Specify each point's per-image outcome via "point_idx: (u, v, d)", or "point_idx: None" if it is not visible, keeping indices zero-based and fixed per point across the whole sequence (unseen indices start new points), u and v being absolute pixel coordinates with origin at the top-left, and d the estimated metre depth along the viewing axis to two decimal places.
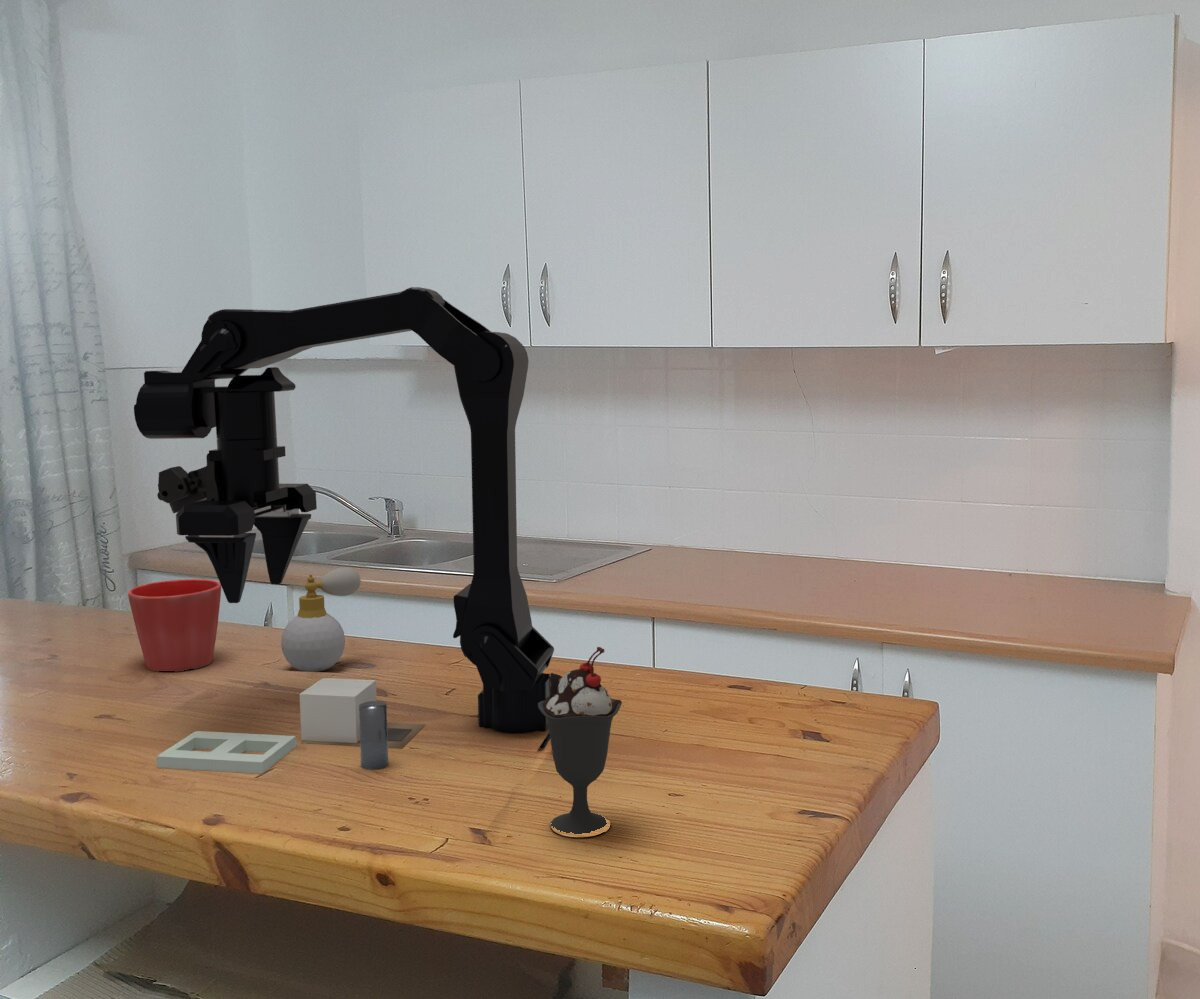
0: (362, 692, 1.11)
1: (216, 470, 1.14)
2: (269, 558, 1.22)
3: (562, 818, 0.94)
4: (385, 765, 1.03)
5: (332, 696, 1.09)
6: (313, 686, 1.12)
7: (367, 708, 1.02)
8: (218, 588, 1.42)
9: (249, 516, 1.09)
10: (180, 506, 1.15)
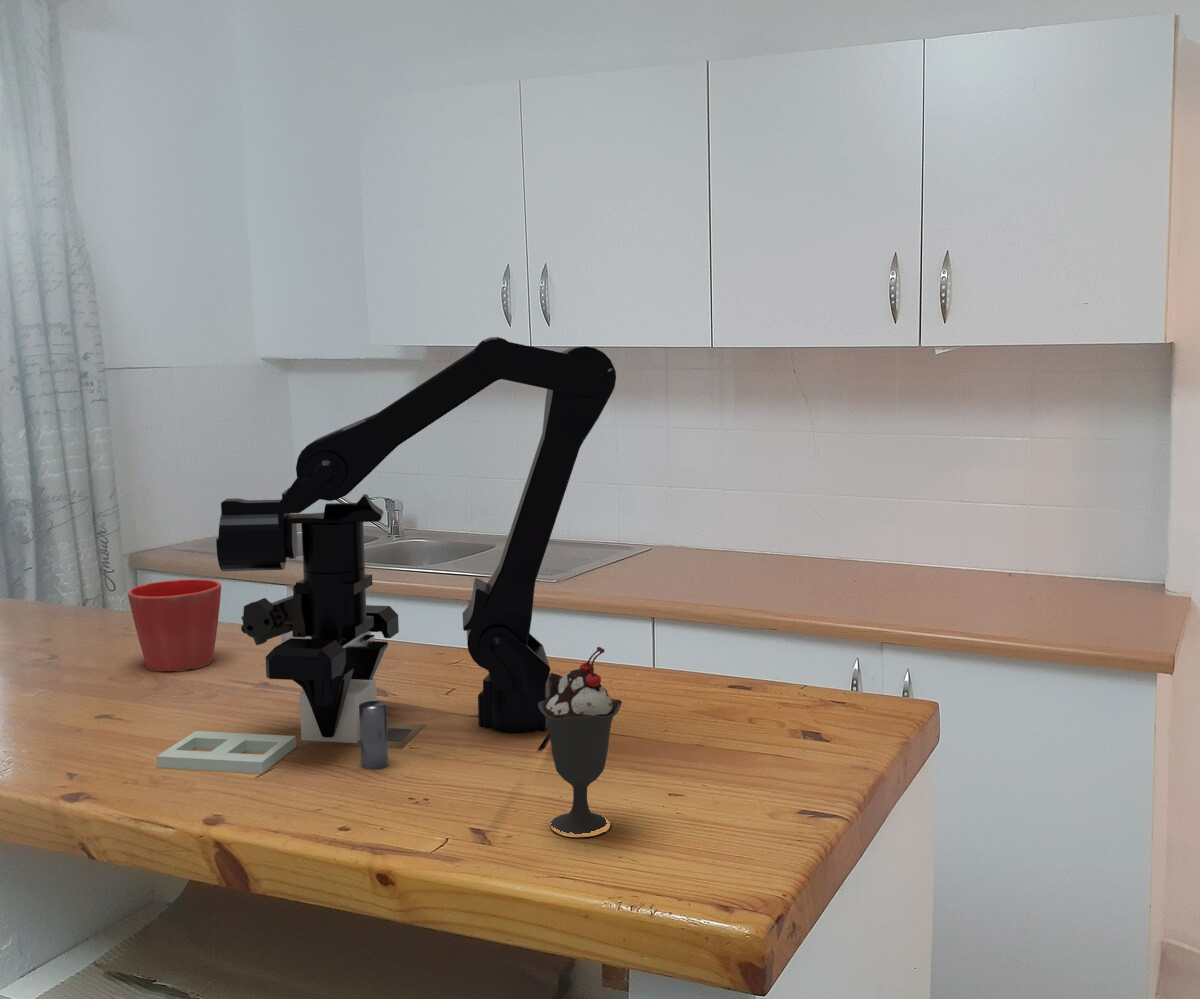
0: (362, 692, 1.11)
1: (303, 603, 1.09)
2: None
3: (562, 818, 0.94)
4: (385, 765, 1.03)
5: None
6: None
7: (367, 708, 1.02)
8: (218, 588, 1.42)
9: (341, 657, 1.05)
10: (264, 639, 1.10)
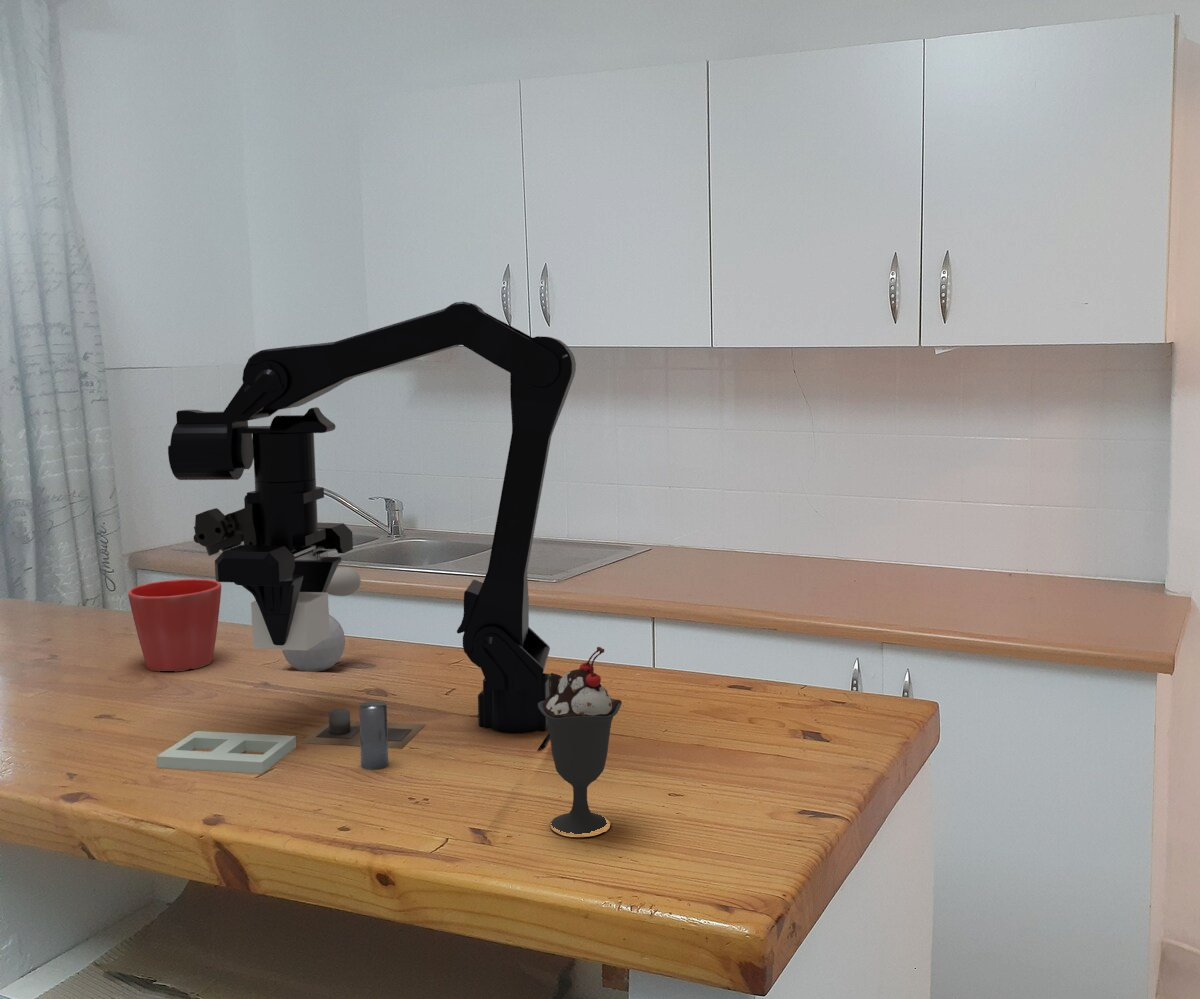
0: (313, 601, 1.13)
1: (254, 513, 1.11)
2: None
3: (562, 818, 0.94)
4: (385, 765, 1.03)
5: None
6: None
7: (367, 708, 1.02)
8: (218, 588, 1.42)
9: (289, 562, 1.06)
10: (216, 549, 1.12)
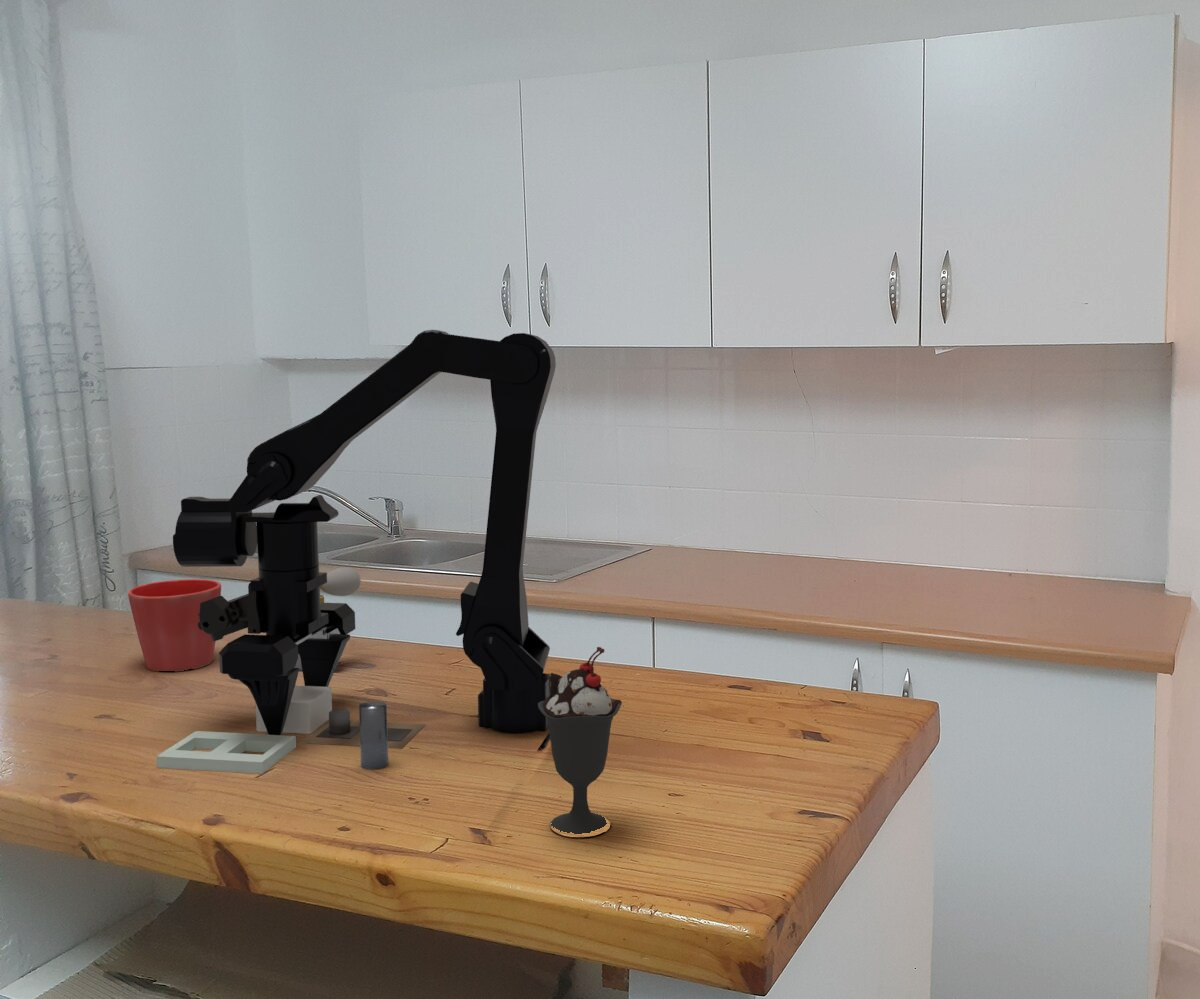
0: (316, 699, 1.14)
1: (258, 600, 1.12)
2: (308, 681, 1.20)
3: (562, 818, 0.94)
4: (385, 765, 1.03)
5: None
6: None
7: (367, 708, 1.02)
8: (218, 588, 1.42)
9: (293, 653, 1.08)
10: (220, 635, 1.13)
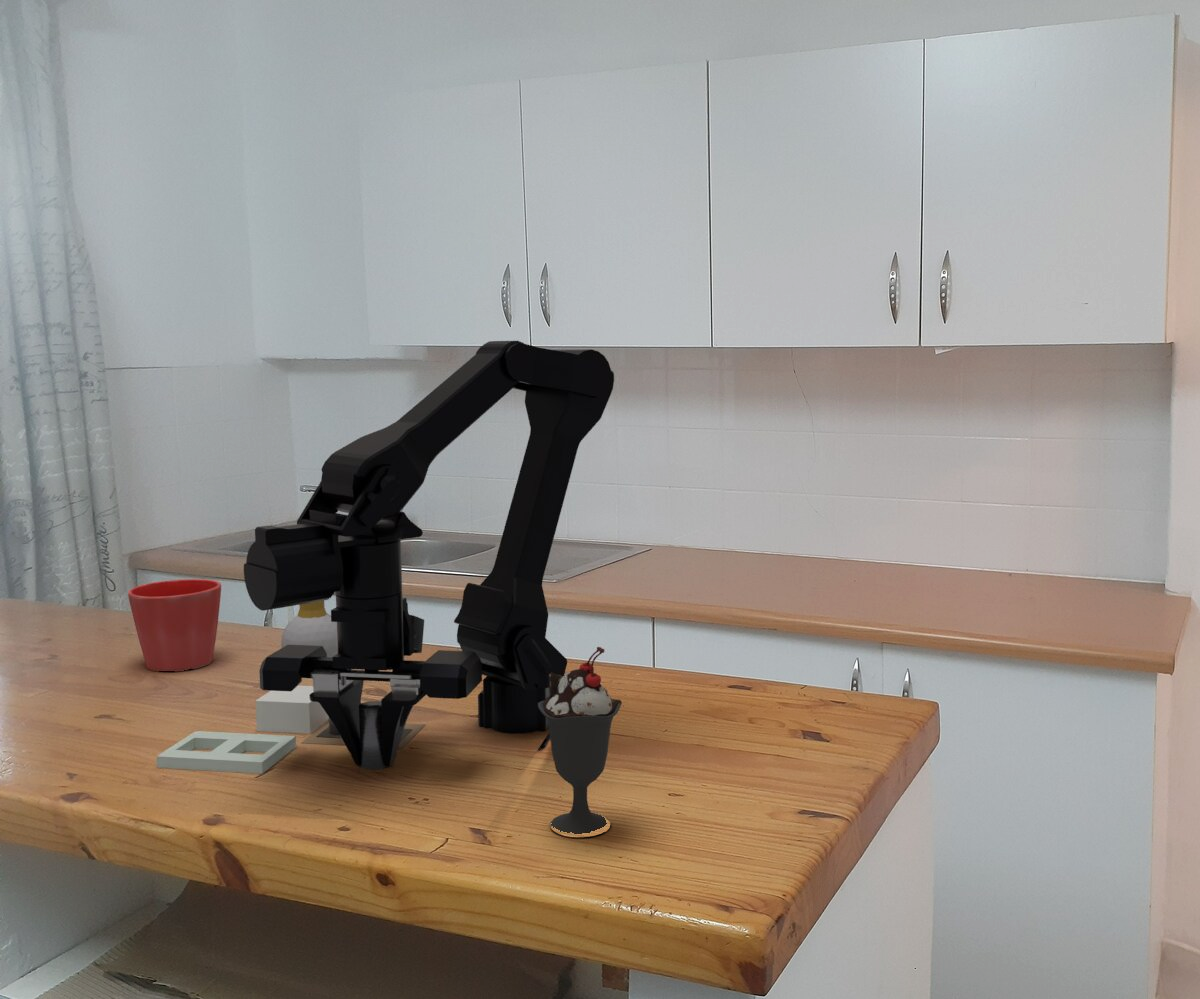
0: None
1: None
2: None
3: (562, 818, 0.94)
4: None
5: (287, 703, 1.12)
6: (269, 693, 1.15)
7: (367, 708, 1.02)
8: (218, 588, 1.42)
9: (287, 675, 1.01)
10: None
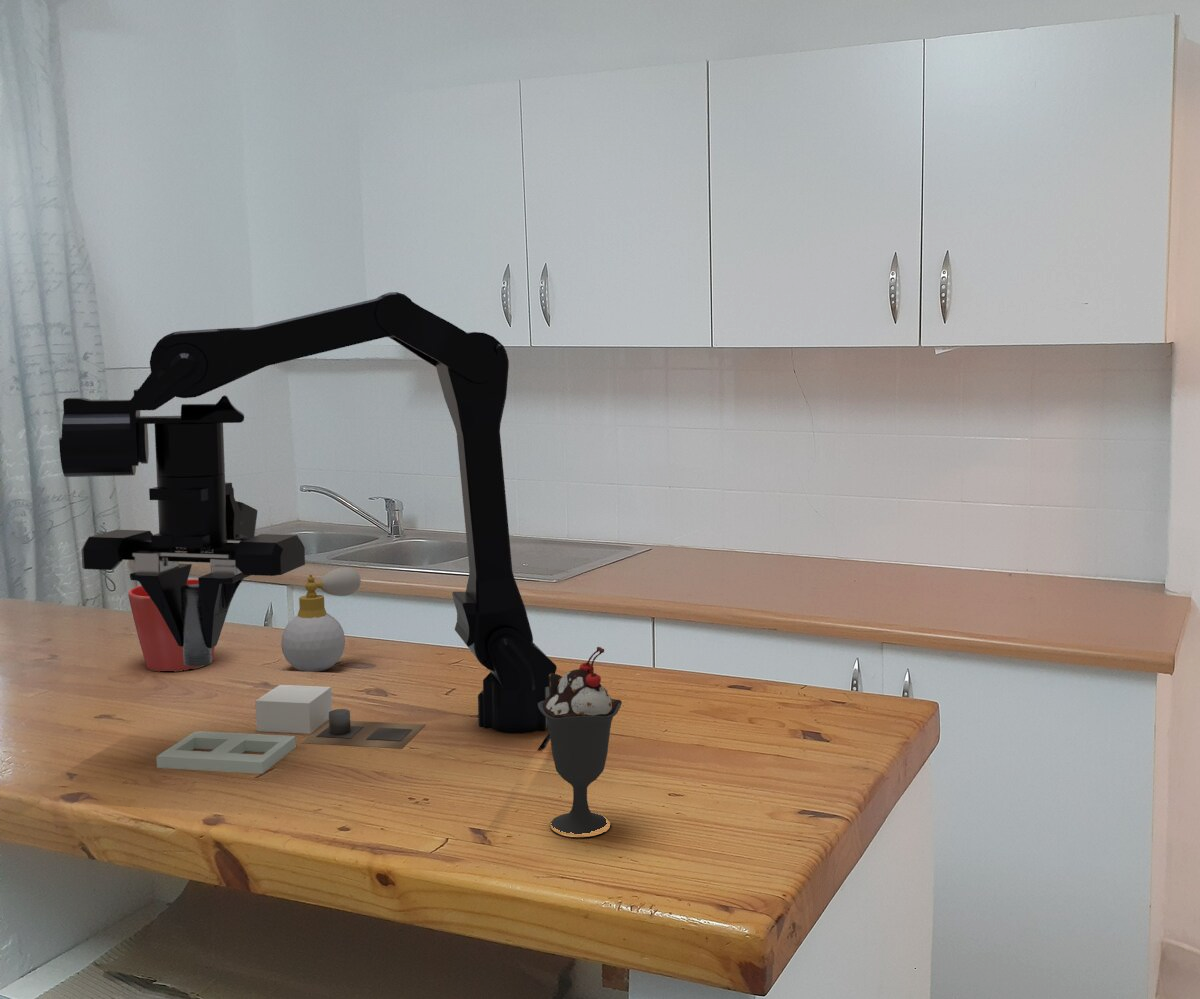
0: (316, 699, 1.14)
1: None
2: None
3: (562, 818, 0.94)
4: None
5: (287, 703, 1.12)
6: (269, 693, 1.15)
7: (188, 588, 1.03)
8: None
9: (107, 554, 1.02)
10: None
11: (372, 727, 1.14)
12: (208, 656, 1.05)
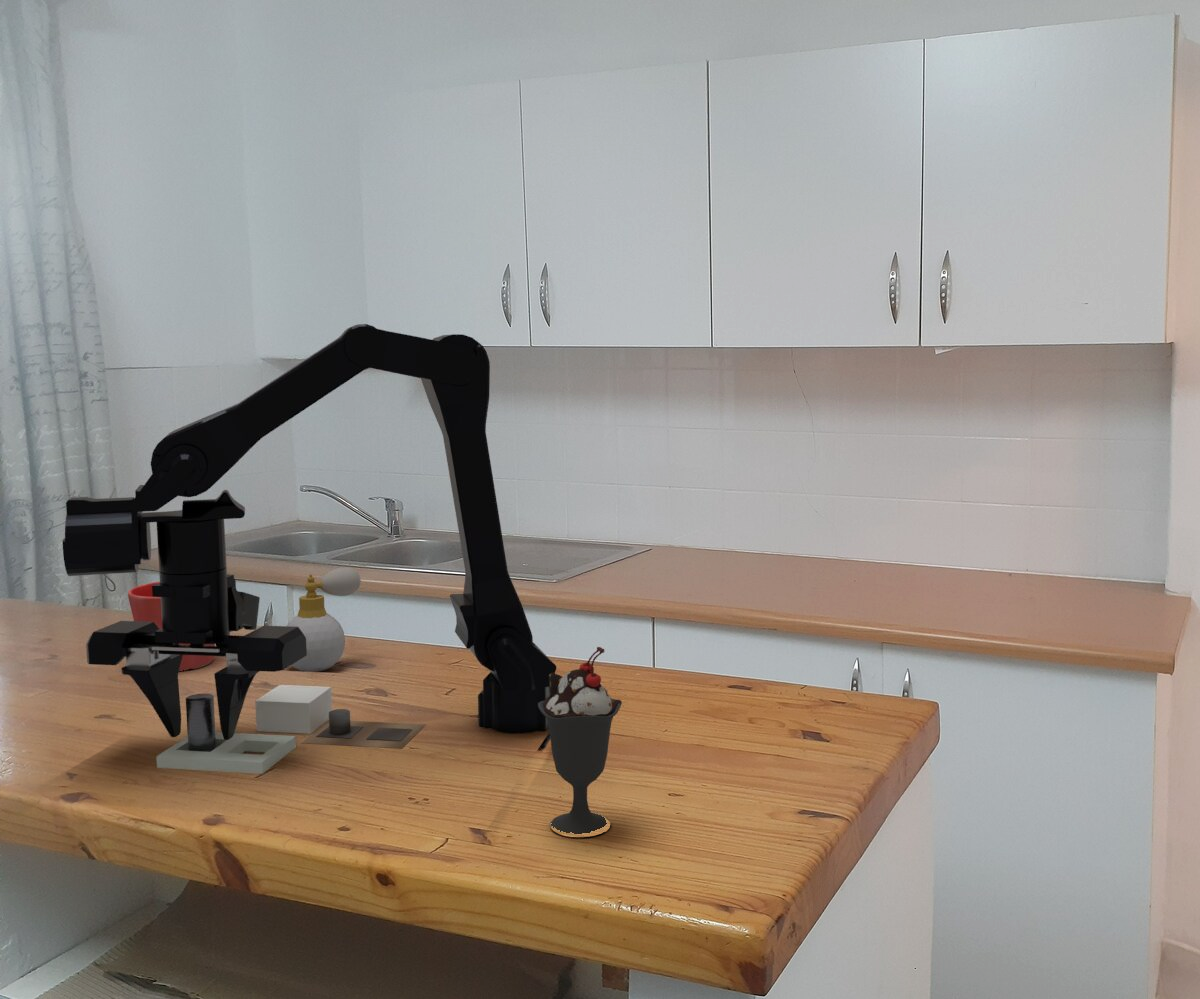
0: (316, 699, 1.14)
1: None
2: None
3: (562, 818, 0.94)
4: None
5: (287, 703, 1.12)
6: (269, 693, 1.15)
7: (192, 700, 1.05)
8: None
9: (111, 650, 1.03)
10: None
11: (372, 727, 1.14)
12: None
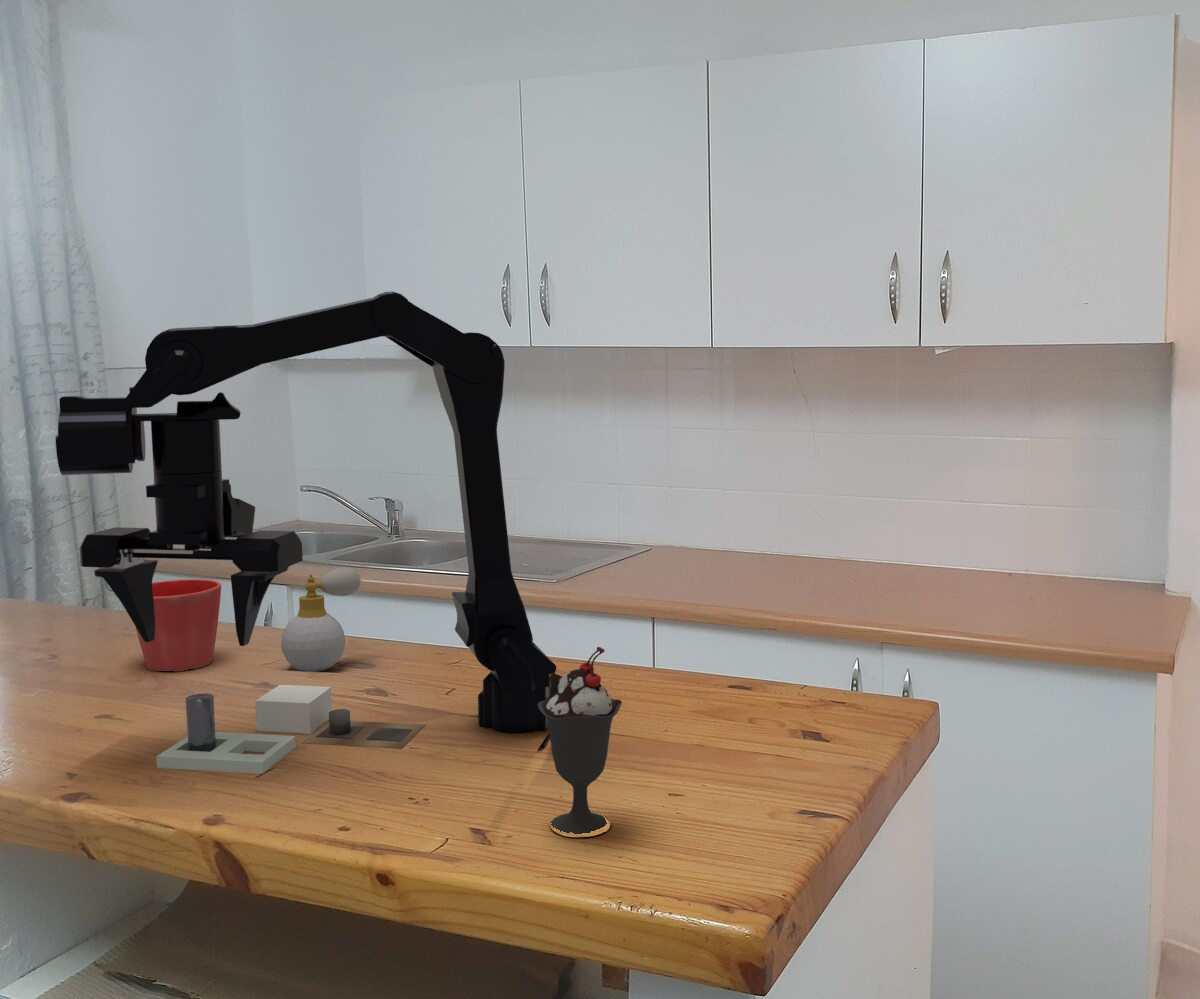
0: (316, 699, 1.14)
1: None
2: None
3: (562, 818, 0.94)
4: None
5: (287, 703, 1.12)
6: (269, 693, 1.15)
7: (192, 700, 1.05)
8: (218, 588, 1.42)
9: (105, 552, 1.02)
10: None
11: (372, 727, 1.14)
12: None
